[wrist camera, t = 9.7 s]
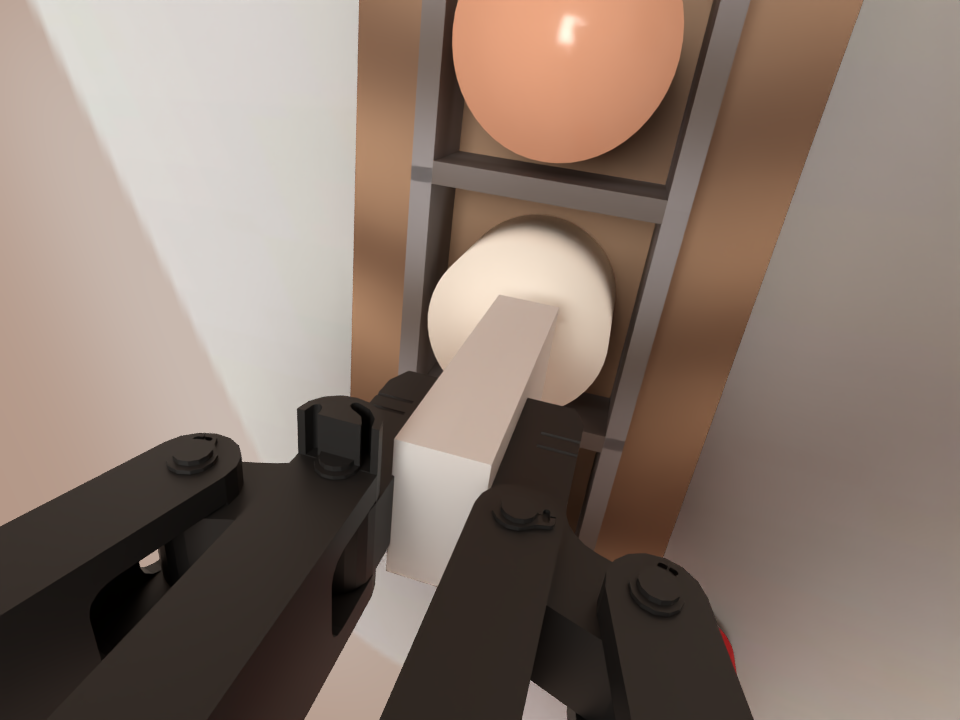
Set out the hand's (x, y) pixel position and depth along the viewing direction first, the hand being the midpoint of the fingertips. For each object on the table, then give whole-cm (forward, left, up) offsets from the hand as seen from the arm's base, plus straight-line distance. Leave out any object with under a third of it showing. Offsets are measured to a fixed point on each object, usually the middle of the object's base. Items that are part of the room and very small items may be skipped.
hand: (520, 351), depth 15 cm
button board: (0, 0, -7) cm, 7 cm away
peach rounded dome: (-7, 0, -5) cm, 8 cm away
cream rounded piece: (0, 0, -5) cm, 5 cm away
